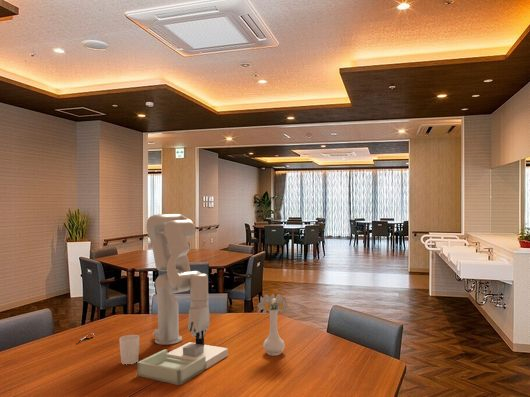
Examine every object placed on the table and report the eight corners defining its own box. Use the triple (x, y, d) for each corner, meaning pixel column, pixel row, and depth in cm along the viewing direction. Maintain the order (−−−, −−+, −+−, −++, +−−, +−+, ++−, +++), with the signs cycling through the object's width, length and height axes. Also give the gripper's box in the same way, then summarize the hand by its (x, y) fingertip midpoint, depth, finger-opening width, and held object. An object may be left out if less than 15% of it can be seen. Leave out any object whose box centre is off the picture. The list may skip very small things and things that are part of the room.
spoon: (97, 336, 210) (97, 333, 210) (69, 350, 190) (69, 347, 190) (89, 336, 211) (89, 332, 211) (61, 350, 191) (61, 346, 191)
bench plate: (165, 361, 175) (165, 353, 175) (189, 348, 189) (189, 342, 189) (206, 368, 166) (206, 361, 166) (227, 355, 180) (227, 348, 180)
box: (137, 375, 160) (137, 362, 160) (165, 361, 174) (165, 349, 174) (179, 385, 151) (179, 371, 151) (205, 369, 165) (205, 356, 165)
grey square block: (182, 354, 173) (182, 347, 173) (191, 350, 178) (191, 343, 178) (195, 357, 170) (194, 349, 170) (203, 352, 176) (203, 345, 176)
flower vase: (288, 345, 191) (287, 290, 192) (288, 360, 173) (287, 299, 173) (259, 345, 192) (259, 290, 193) (256, 360, 174) (255, 299, 174)
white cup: (143, 359, 177) (143, 335, 177) (131, 366, 169) (131, 341, 169) (127, 357, 179) (127, 333, 179) (115, 364, 172) (115, 339, 172)
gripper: (202, 298, 187) (202, 340, 187) (181, 306, 174) (181, 351, 174) (216, 300, 184) (217, 342, 184) (196, 308, 171) (197, 353, 170)
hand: (199, 346), depth 179 cm, fingers closed
